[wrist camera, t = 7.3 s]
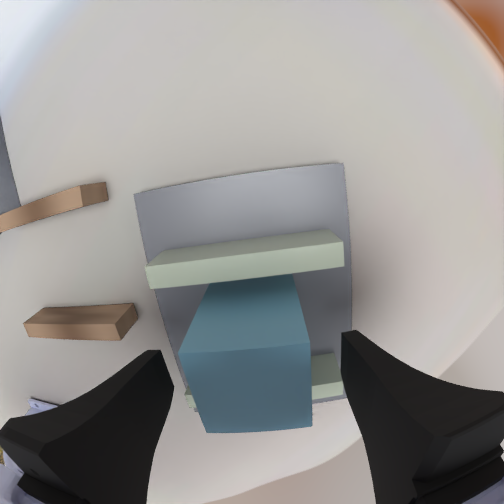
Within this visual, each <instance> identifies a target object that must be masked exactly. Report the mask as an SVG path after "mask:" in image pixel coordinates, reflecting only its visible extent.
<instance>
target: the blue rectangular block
mask: <svg viewBox="0 0 504 504" xmlns="http://www.w3.org/2000/svg"><path fill="white" fill-rule="evenodd" d="M178 355H179V359H180V362H181V365H182V368H183V371H184V374H185V376H186V379H187V382H188V385H189V388H190V391H191V393H192V396H193V399H194V402H195V404H196V407H197V409H198V412H199V415H200V417H201V420H202V422H203V425H204V427H205V430H206V432H207V433H241V432H261V431H275V430H286V429H295V428H303V427H311V426H312V380H311V352H310V340H309V336H308V332H307V328H306V324H305V320H304V317H303V313H302V309H301V305H300V301H299V297H298V294H297V290H296V286H295V283H294V279H293V275H292V273H291V274H283V275H275V276H267V277H259V278H251V279H242V280H233V281H225V282H216V283H209V285H208V288H207V290H206V292H205V294H204V296H203V298H202V301H201V303H200V305H199V307H198V309H197V312H196V314H195V316H194V318H193V320H192V323H191V325H190V327H189V329H188V331H187V334H186V336H185V338H184V340H183V343H182V345H181V347H180V349H179V352H178Z"/></svg>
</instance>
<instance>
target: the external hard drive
mask: <svg viewBox="0 0 504 504" xmlns="http://www.w3.org/2000/svg"><path fill="white" fill-rule="evenodd" d="M19 207H21V206H20V202H19V198H18V194H17V190H16V186H15V182H14V178H13V174H12V170H11V166H10V162H9V157H8V153H7V148H6V144H5V139H4V134H3V128H2V123H1V118H0V215H2V214H4V213H6V212H9V211H11V210H14V209H16V208H19ZM0 233H1V232H0Z"/></svg>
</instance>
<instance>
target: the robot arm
mask: <svg viewBox="0 0 504 504" xmlns="http://www.w3.org/2000/svg"><path fill="white" fill-rule="evenodd" d="M340 373H341V377H342V381H343V385H344V389H345V393H346V396H347V398H348V401H349V403H350V406H351V409H352V411H353V414H354V416H355V419H356V421H357V424H358V426H359V429H360V432H361V434H362V437H363V440H364V443H365V448H366V452H367V456H368V461H369V465H370V470H371V475H372V480H373V487H374V493H375V499H376V504H504V461H503V459H502V458H501V455H502V454H503V451H504V450H503V449H502V447H501V446H500V443H501V442H502V441H503V439H504V393H503V392H500V391H490V390H480V389H474V388H469V387H465V386H460V385H456V384H453V383H449V382H446V381H443V380H440V379H437V378H435V377H432V376H430V375H427V374H425V373H423V372H421V371H419V370H416V369H414V368H412V367H410V366H409V365H407V364H405V363H403V362H402V361H400V360H398V359H397V358H395V357H393V356H392V355H390V354H389V353H387V352H386V351H384V350H383V349H382V348H380V347H379V346H377V345H376V344H375V343H373V342H372V341H371V340H369V339H368V338H367V337H365V336H364V335H363V334H361V333H360V332H359V331H357V330H353V331H347V332H341V370H340ZM173 391H174V385H173V382H172V379H171V377H170V374H169V372H168V369H167V366H166V363H165V361H164V358H163V355H162V352H161V350H147V351H145V352H144V353H142V354H141V355H140V356H138V357H137V358H135V359H134V360H133V361H132V362H130V363H129V364H128V365H126V366H125V367H124V368H122V369H121V370H120V371H118V372H117V373H116V374H114V375H113V376H112V377H110V378H109V379H107V380H106V381H104V382H103V383H101V384H100V385H98V386H97V387H95V388H94V389H92V390H91V391H89V392H87V393H85V394H83V395H82V396H80V397H78V398H76V399H74V400H72V401H69V402H67V403H65V404H62V405H60V406H57V405H53V404H49V403H45V402H42V401H38V400H35V399H31V398H29V399H28V403H29V404H30V406H31V408H30V409H29V411H28V412H27V413H26V414H25V416H21V417H16V418H10V419H9V420H8V421H7V422H6V424H5V425H4V426H3V427H2V429H1V430H0V446H1V448H2V449H3V458H4V462H5V465H6V466H4V465H3V464H0V504H146V501H147V491H148V484H149V477H150V471H151V466H152V461H153V456H154V453H155V449H156V446H157V443H158V440H159V438H160V435H161V432H162V429H163V426H164V424H165V421H166V418H167V415H168V412H169V410H170V407H171V402H172V397H173Z"/></svg>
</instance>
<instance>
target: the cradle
mask: <svg viewBox="0 0 504 504" xmlns="http://www.w3.org/2000/svg"><path fill="white" fill-rule="evenodd" d="M107 200H108V195H107V189H106V183H105V182H103V183H95V184H88V185H81V186H77V187H74V188H71V189H68V190H65V191H62V192H59V193H56V194H53V195H50V196H47V197H45V198H42V199H39V200H37V201H34V202H31V203H29V204H26V205H24V206H21V207H19V208H16V209H14V210H11V211H9V212H6V213H4V214H2V215H0V232H3V231H6V230H9V229H12V228H15V227H18V226H21V225H24V224H27V223H30V222H33V221H36V220H40V219H43V218H46V217H49V216H53V215H56V214H59V213H63V212H66V211H70V210H73V209H77V208H81V207H84V206H88V205H92V204H96V203H99V202H103V201H107ZM137 319H138V317H137V314H136V311H135V307H134V304H133V303H130V304H115V305H98V306H79V307H55V308H43V309H41V310H40V311H39V312H37V313H36V314H35V315H33V316H32V317H31V318H30V319H28V320H27V321H26V322H24V323H23V324H24V327H25V329H26V331H27V334H28V336H29V337H38V338H53V339H72V340H122V338H123V337H124V336H125V334H126V333H127V332H128V331H129V329H130V328H131V327H132V325H133V324H134V323H135V322H136V320H137Z"/></svg>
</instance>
